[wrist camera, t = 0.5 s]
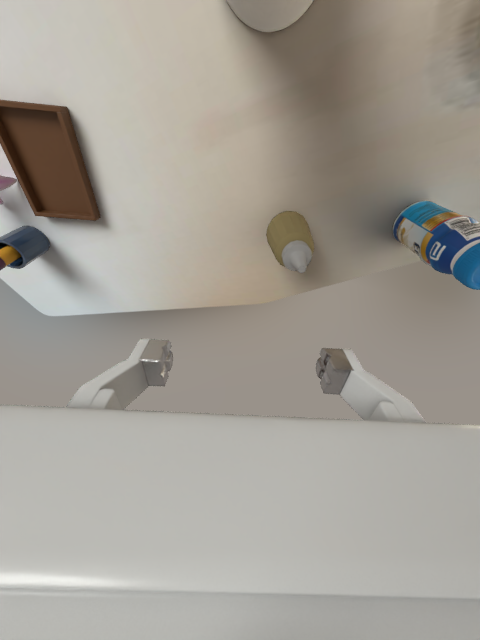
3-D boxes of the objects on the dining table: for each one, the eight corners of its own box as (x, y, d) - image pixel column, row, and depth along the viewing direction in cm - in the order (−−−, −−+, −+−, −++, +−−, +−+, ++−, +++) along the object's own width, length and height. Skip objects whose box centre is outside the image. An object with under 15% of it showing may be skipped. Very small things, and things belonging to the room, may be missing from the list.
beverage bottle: (446, 210, 45) (549, 255, 30) (410, 247, 50) (483, 302, 35) (415, 191, 43) (510, 230, 28) (381, 233, 48) (445, 284, 33)
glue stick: (22, 233, 48) (-28, 260, 39) (36, 234, 48) (-12, 261, 39) (29, 246, 50) (-18, 274, 41) (42, 247, 50) (-2, 275, 41)
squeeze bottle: (302, 243, 50) (325, 290, 36) (265, 246, 50) (274, 294, 37) (306, 203, 44) (334, 240, 31) (264, 207, 45) (274, 245, 31)
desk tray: (-11, 98, 35) (-23, 97, 33) (67, 106, 35) (59, 106, 34) (42, 212, 46) (35, 215, 44) (101, 217, 46) (96, 220, 45)
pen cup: (12, 224, 47) (-19, 238, 42) (42, 226, 47) (15, 241, 42) (27, 251, 51) (1, 267, 45) (54, 253, 51) (31, 269, 46)
